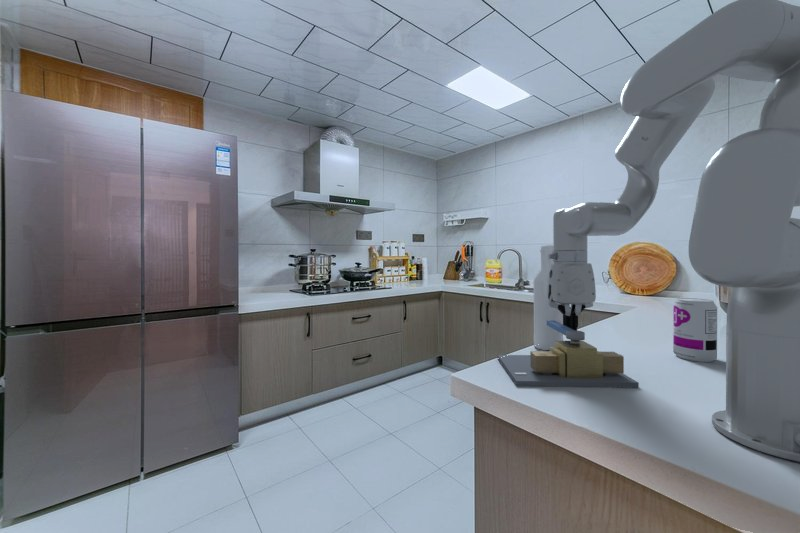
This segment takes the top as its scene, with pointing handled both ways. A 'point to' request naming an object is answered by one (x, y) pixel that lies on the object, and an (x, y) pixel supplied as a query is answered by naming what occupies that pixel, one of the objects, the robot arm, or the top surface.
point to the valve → (576, 361)
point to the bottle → (545, 305)
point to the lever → (566, 331)
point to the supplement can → (695, 329)
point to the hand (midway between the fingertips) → (570, 330)
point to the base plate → (556, 376)
